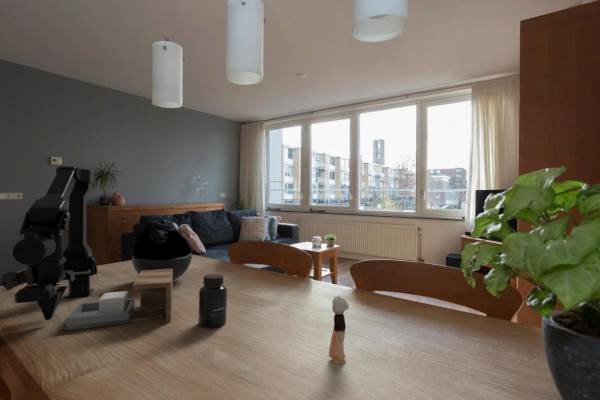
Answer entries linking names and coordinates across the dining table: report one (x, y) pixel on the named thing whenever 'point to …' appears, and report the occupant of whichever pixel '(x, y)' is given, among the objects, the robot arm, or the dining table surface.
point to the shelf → (156, 289)
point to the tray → (97, 316)
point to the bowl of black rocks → (162, 254)
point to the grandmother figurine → (338, 330)
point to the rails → (144, 318)
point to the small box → (113, 302)
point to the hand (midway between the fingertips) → (48, 319)
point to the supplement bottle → (212, 302)
